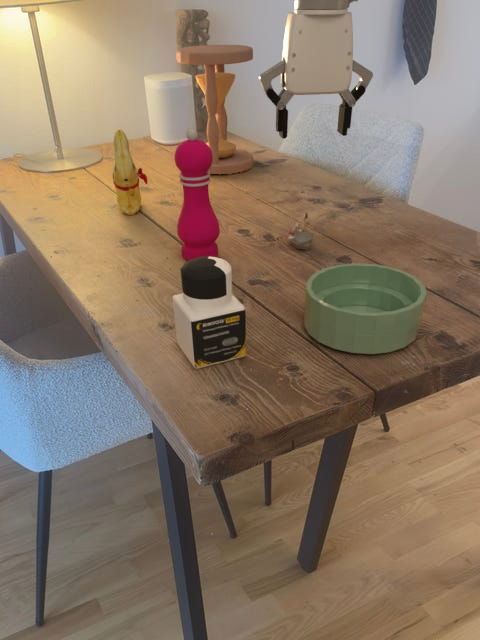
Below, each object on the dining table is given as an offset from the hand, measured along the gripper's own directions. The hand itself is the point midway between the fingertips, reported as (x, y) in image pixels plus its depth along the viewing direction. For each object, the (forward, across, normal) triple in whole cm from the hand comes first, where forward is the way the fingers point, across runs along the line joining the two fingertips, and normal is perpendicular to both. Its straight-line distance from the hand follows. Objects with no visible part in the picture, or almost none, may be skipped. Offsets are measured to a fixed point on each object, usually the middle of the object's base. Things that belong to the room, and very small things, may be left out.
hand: (312, 135), depth 90 cm
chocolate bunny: (+19, +30, -27) cm, 45 cm away
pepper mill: (+18, +19, +1) cm, 26 cm away
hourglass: (+18, +9, -56) cm, 60 cm away
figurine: (+18, +1, 0) cm, 18 cm away
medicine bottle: (+18, +20, +33) cm, 43 cm away
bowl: (+18, -1, +30) cm, 35 cm away
